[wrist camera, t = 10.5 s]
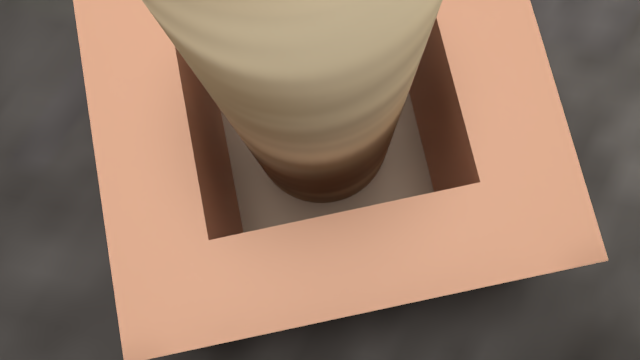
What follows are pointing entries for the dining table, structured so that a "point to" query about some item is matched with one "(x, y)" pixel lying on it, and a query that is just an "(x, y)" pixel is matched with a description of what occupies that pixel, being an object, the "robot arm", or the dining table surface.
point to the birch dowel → (306, 80)
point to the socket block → (335, 217)
